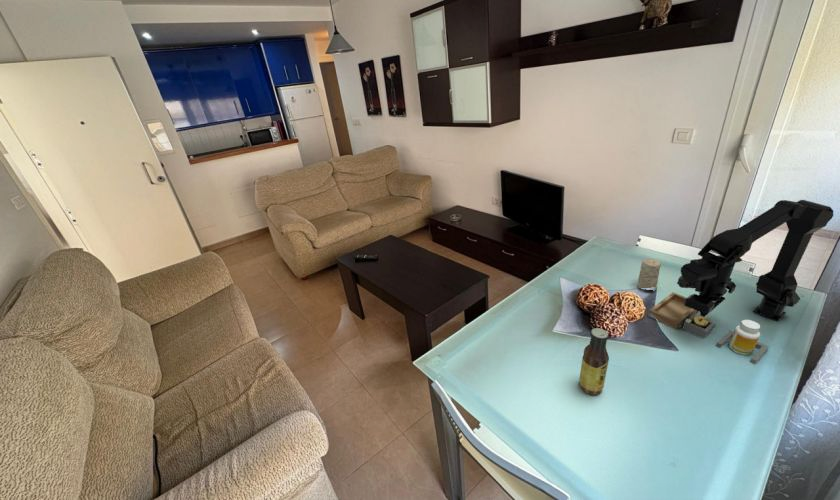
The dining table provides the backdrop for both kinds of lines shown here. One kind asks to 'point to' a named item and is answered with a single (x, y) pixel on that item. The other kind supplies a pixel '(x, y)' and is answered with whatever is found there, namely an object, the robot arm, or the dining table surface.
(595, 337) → the sauce bottle
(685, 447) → the dining table surface
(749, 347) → the supplement bottle
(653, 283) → the carving
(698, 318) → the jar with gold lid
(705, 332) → the grey angular frames
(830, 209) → the robot arm
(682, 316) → the brown wooden tray
